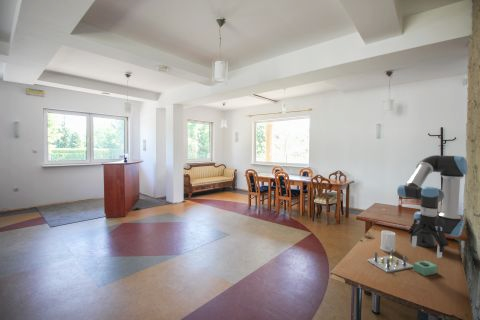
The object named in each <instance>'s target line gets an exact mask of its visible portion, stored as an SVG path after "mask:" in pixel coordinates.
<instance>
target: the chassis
mask: <svg viewBox="0 0 480 320" xmlns="http://www.w3.org/2000/svg"><path fill="white" fill-rule="evenodd" d="M368 261H369V262H368ZM366 262H368V263H370V264H372V265H373V264H374V266H375V267H377V268H379V270H382V271H384V272H386V273H387V274H388V273H392V272H398V271H404V270H407V269H413V268H414V264H410V263H409V262H407V256H406V255H403V256H402V259H400V258H398V257H397V256H395V255H394V252H393V250H390V252H389V255H384V256H379V257H378V252H377V251H374V257H372V258H368V259H366Z"/></svg>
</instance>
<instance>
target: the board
mask: <svg viewBox="0 0 480 320" xmlns="http://www.w3.org/2000/svg"><path fill="white" fill-rule="evenodd" d="M413 266H414V268H412V269H413V271H414V272H416V273H418V274H420V275H422V276H424V277H425V276H429V275H434V274H437V273H438V268H439V267H438V266H439V265H437V264H435V263H433V262H430V261H428V260H423V261H417V262H413Z"/></svg>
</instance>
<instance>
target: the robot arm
mask: <svg viewBox="0 0 480 320" xmlns="http://www.w3.org/2000/svg"><path fill="white" fill-rule="evenodd" d="M432 173H440V177H442V189H440V188H438V187H434V186H422V185H423V184H424V183H425V181H426V179H427V178H428V176H429V175H430V174H432ZM465 175H468V162H467V159H466V158H465V157H464V156H462V155H461V156H460V155H437V154H436V155H429V156H427V157H426V158H423V159H422V160H420V161H419V162H418V163H417V164H416V166H415V170H414V171H413V173H412V175H411V176H410V177H409V179H408V181H407V182H406V183H405V185H404V184H403V185H402V184H400V185H399V186H398V187H397V195H398V197H401V198H404V199H406V198H407V199H413V200H419V201H420V208H419V209H420V211H415V212H414V214H413V223H412V225H411V226H410V228H409V229H408V231H407V234H410V236H409V241H410V242H411V247H412V248H417V246H419V247H420V246H421V247H425V248H435V247H436V246H437V250H436V258H438V259H440V258H442V257H443V253H444V252H445V247H449V246H450V244H449V242H448V240H447V237H446V236H450V237H455V238H457V237H460V236H461V234H462V231H463V229H464V225H465V221H464V220H462V216H460V215H459V203H460V191H461V190H460V187H461V179H463V178H464V177H465ZM439 202H441V208H440V212H438V209H439Z"/></svg>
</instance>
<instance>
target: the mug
mask: <svg viewBox="0 0 480 320" xmlns="http://www.w3.org/2000/svg"><path fill="white" fill-rule="evenodd" d="M380 237H381V238H380V247H379V248H380V250H381V251H384V252H386V253H390V250H393V253H396V249H395V248H396V233H395V232H394V231H391V230H386V229H385V230H382V231H381V236H380Z"/></svg>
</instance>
